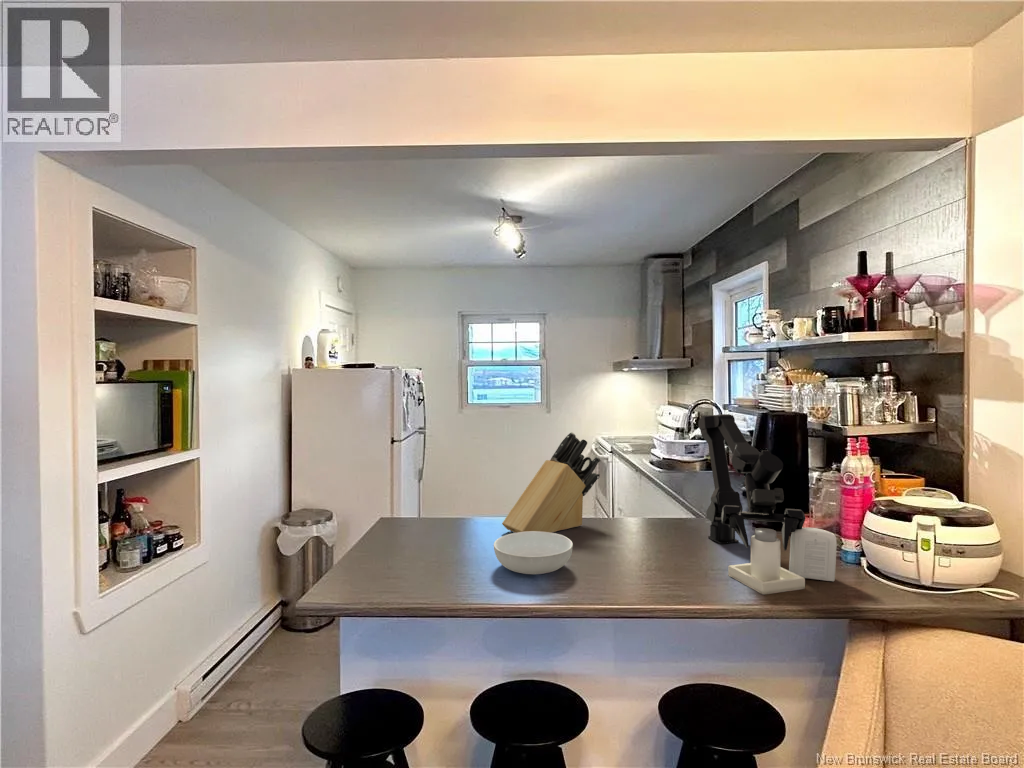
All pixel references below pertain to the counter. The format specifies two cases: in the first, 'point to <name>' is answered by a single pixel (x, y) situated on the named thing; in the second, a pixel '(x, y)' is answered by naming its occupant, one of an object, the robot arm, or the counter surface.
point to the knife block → (555, 491)
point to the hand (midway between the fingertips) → (766, 548)
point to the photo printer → (813, 554)
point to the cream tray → (785, 583)
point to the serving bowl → (533, 551)
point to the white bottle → (765, 555)
